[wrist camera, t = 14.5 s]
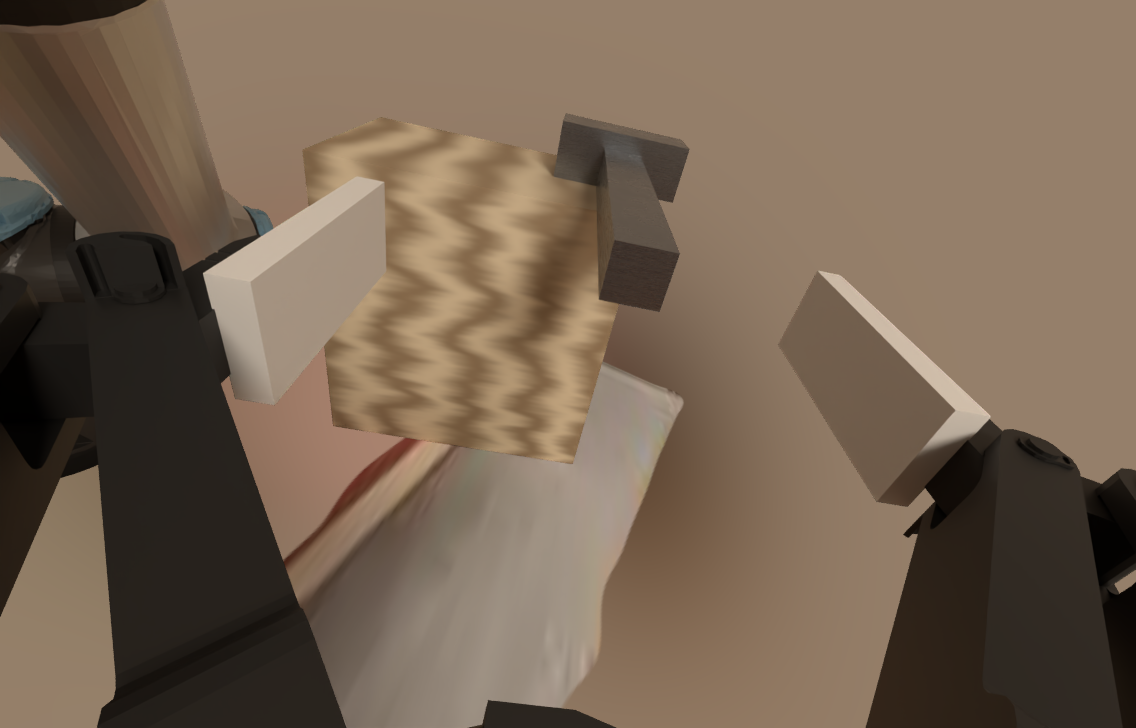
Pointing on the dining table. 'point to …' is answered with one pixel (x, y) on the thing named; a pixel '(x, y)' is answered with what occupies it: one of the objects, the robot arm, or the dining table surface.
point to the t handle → (626, 204)
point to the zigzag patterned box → (468, 294)
